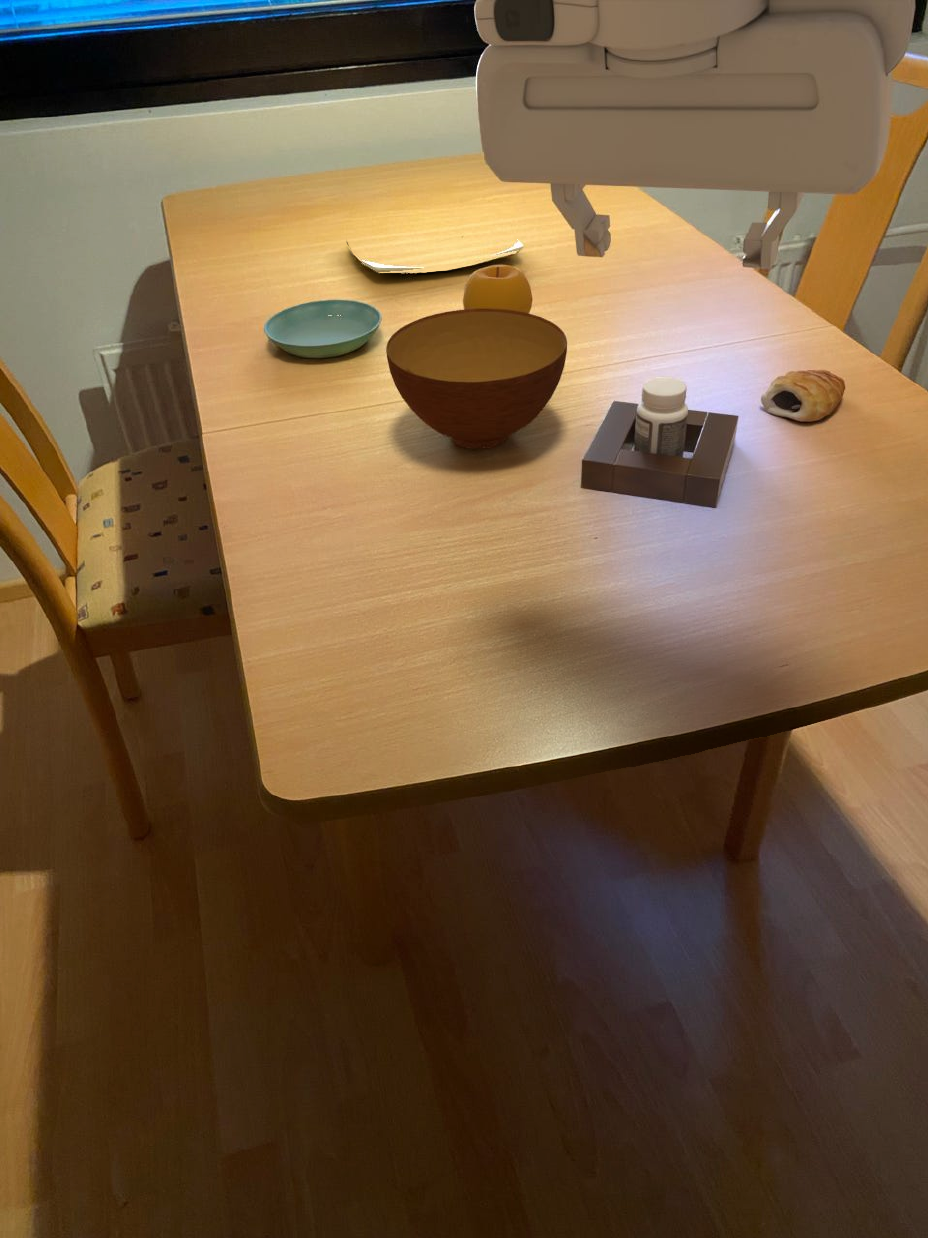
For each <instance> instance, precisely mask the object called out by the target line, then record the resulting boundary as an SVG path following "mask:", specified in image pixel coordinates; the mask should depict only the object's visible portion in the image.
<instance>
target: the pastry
mask: <svg viewBox="0 0 928 1238" xmlns="http://www.w3.org/2000/svg"><path fill="white" fill-rule="evenodd" d="M845 390H846V384H845V380H844V379H843V378H842V377H840V376H837V374H834V373H832V372H831V371H829V370H826V369H807V370H795V371H794V370H790V371H788V372H786V373H785V374H784V375H779V376H777V377H776V378H775V379H773V381H771V383H770V385H769V388H767V390H766V391H765V393H764V394H762V395H761V396H760V403H761V405H762V406H763V410H764V411H765V412H766V413H769V414H771V415H774V416H777V417H781V418H789V419H791V420H794V421H796V422H802V423H803V422H808V423H812V422H817V421H820V420H822V419H823V418H824V417H826V416H829V415H830V414H832V413H833V411H834V410H835V409H836V408H837V406H838V405H839V403H840V402H841V400H842V399H843V397H844V393H845Z"/></svg>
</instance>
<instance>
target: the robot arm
mask: <svg viewBox="0 0 928 1238" xmlns="http://www.w3.org/2000/svg"><path fill="white" fill-rule="evenodd" d="M915 11H916V0H476V1H475V2H474V19H475V25H476V28H477V29H476V30H477V32H478V35H479V37H480V38H481V40H482V41H483V42H484V43H486V44H488V46H487V47H485V49H484V51H483V52H482V54H481V55H480V58H479V60H478V64H477V68H476V74H475V75H476V76H475V85H476V86H475V92H476V94H475V95H476V110H477V122H478V130H479V138H480V144H481V150H482V156H483V160H484V163H485V164H486V166H487V167H488V168H489V170H490V171H491V172H492V173H493V174H494V176H495V177H496V178H497V179H498V180H499V181H501V182H504V183H520V184H521V183H522V184H523V183H526V184H548V185H549V184H550V185H549V186H550V194H551V201H552V203H553V204H554V206H555V207H556V209H557V211H558V212H560V214H561V215H562V217H563V219H564V220H565V221H566V222H567V224H568V225H569V227H570V228H571V230H574V238H575V240H574V241H575V248H576V254H577V255H576V256H578V257H587V258H603V257H605V254H606V252H607V251H608V250H609V248H610V247H611V242H612V233H611V232H610V231H609V230H610V227H611V219H610V215H609V214H599V213H596V211H595V209H594V207H593V205H592V204H591V202H590V200H589V198H588V197H587V195H586V193H585V191H584V190H583V189H584V188H585V186H605V187H630V188H631V187H634V188H659V189H661V188H663V189H685V190H687V189H689V190H711V191H712V190H713V191H714V190H715V191H740V192H765V193H767V192H768V200H767V209H769V211H774V212H773V214H772V215H771V217H770V218H769V219H768V221H767V222H752V223H751V224H750V226H749V228H748V229H749V230H748V232H747V233H746V234H745V236H744V238H743V245H742V252H743V253H744V256H743V258H742V267H743V268H750V269H762V270H772V269H773V265H774V264H775V262H776V260H777V256H778V251H779V245H780V244H779V243H780V234H781V233H782V231H783V230H784V229H785V228H786V227H787V224H788V223H789V222H790V220H791V219H792V218H793V216H794V215H795V214H796V212H797V211H798V208H799V205H800V203H801V202H802V200H803V196H804V195H805V194H821V195H823V194H824V195H855V194H857V193H859V192H860V191H861V190H862V189H864V188H865V187H866V186H867V185H868V184H869V183H870V182H871V181H872V180H873V179H874V178H875V177H876V176H877V174H878V173H879V171H880V170H881V167H882V164H883V161H884V159H885V155H886V154H887V153H886V152H887V149H888V144H889V140H890V139H889V138H890V132H891V131H890V130H891V121H892V108H893V91H894V90H893V86H894V76H893V75H894V70H895V69H896V68H897V67H898V66H899V64H900V63H901V62H902V61H903V59H904V58H905V55H906V53H907V51H908V49H909V46H910V42H911V36H912V30H913V24H914V17H915V13H916V12H915Z"/></svg>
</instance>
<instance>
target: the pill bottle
mask: <svg viewBox="0 0 928 1238" xmlns="http://www.w3.org/2000/svg"><path fill="white" fill-rule="evenodd" d="M687 388H688V387H687V383H686V382H684V381H683V380H682V379H679V378H676V377H673V376H656V377H652V378H649V379H646V380H645V381H644V382H643V384H642V389H641V401H640V402H638V403H637V404H638V407H637V413H636V427H635V440H634V444H633V451H639V452H647V453H654V454H662V455H669V456H677V457H684V452H685V451H684V444H685V436H686V426H687V417H688V410H689V408H688V405H687V403H686V399H687V390H688V389H687Z"/></svg>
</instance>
